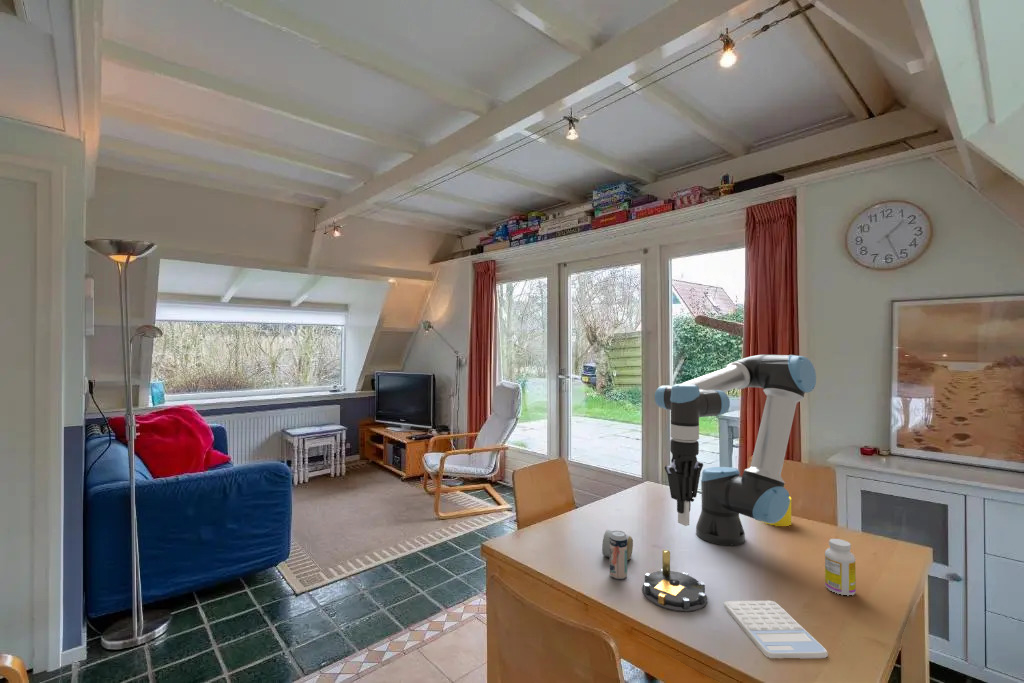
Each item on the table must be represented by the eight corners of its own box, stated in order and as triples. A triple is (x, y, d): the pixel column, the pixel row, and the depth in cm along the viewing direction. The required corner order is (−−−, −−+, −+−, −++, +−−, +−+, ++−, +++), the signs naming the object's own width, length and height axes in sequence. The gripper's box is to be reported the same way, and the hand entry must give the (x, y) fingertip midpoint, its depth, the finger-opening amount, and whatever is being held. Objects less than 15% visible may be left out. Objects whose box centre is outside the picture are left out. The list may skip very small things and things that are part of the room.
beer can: (607, 572, 133) (607, 530, 133) (623, 571, 134) (623, 529, 134) (612, 580, 129) (612, 537, 129) (629, 580, 129) (629, 536, 129)
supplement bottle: (850, 586, 126) (850, 538, 126) (859, 599, 120) (859, 549, 120) (821, 582, 128) (821, 535, 128) (829, 594, 122) (829, 545, 122)
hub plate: (690, 578, 130) (690, 576, 130) (719, 611, 114) (719, 609, 114) (634, 579, 129) (634, 577, 129) (654, 612, 113) (654, 610, 113)
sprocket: (690, 575, 130) (690, 547, 130) (718, 608, 114) (718, 575, 114) (634, 576, 129) (635, 548, 129) (655, 609, 113) (655, 576, 113)
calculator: (774, 606, 117) (774, 598, 117) (830, 660, 97) (830, 651, 97) (722, 607, 117) (722, 599, 117) (767, 661, 97) (767, 652, 97)
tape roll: (758, 522, 170) (758, 497, 170) (761, 514, 178) (761, 490, 178) (790, 529, 164) (790, 502, 164) (792, 520, 173) (792, 495, 173)
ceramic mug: (628, 565, 137) (629, 539, 137) (601, 559, 141) (601, 534, 141) (635, 551, 147) (635, 527, 147) (609, 546, 150) (609, 522, 151)
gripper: (690, 435, 137) (689, 515, 137) (657, 439, 131) (656, 523, 131) (711, 440, 130) (710, 524, 130) (678, 444, 124) (677, 532, 124)
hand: (683, 523), depth 130 cm, fingers closed
